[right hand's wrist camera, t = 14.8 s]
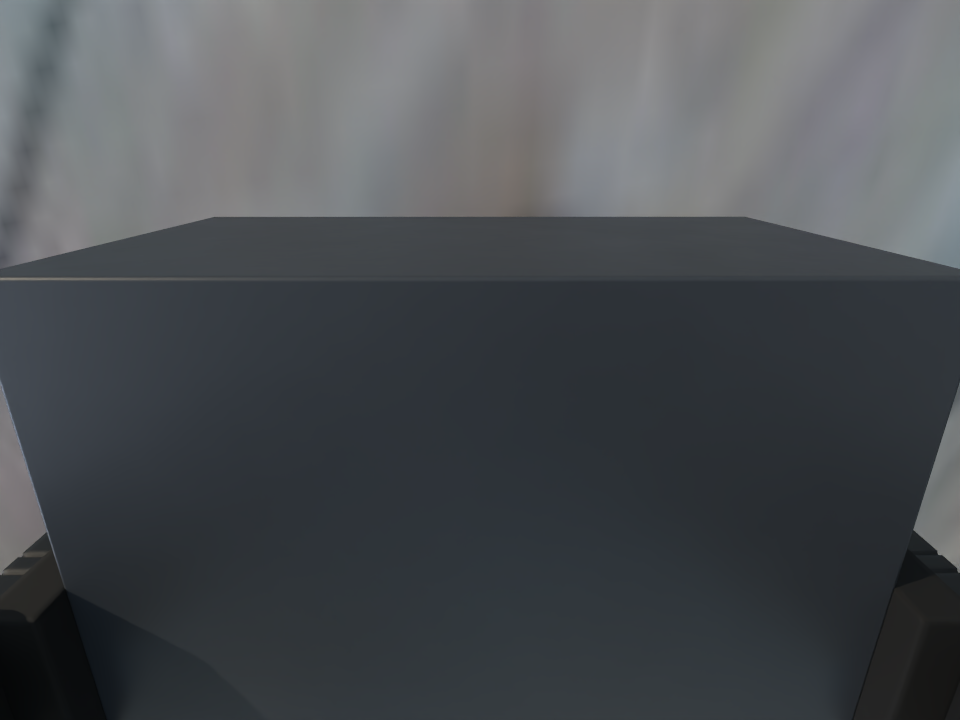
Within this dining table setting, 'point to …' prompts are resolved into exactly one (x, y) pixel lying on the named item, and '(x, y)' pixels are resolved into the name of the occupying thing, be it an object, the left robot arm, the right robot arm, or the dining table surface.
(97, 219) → the dining table surface
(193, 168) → the dining table surface
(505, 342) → the dark gray block
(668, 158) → the dining table surface
